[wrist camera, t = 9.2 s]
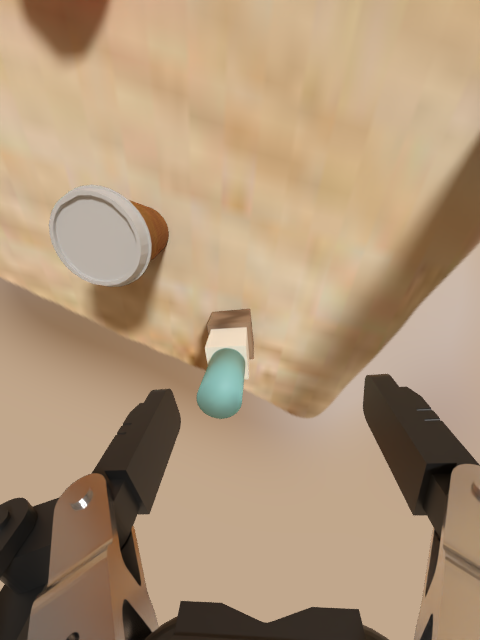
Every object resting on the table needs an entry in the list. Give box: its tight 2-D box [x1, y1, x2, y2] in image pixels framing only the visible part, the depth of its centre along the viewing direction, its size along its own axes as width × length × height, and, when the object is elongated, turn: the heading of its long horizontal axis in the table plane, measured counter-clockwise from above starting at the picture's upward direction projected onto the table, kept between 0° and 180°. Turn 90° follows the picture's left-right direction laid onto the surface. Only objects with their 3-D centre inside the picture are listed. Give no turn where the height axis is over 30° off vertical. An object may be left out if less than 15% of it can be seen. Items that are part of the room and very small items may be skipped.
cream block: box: [205, 327, 249, 379], centre depth 33 cm, size 5×5×5 cm
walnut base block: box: [207, 309, 254, 359], centre depth 37 cm, size 6×6×5 cm
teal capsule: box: [197, 348, 245, 419], centre depth 27 cm, size 4×4×7 cm
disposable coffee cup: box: [49, 185, 169, 287], centre depth 28 cm, size 10×10×12 cm
